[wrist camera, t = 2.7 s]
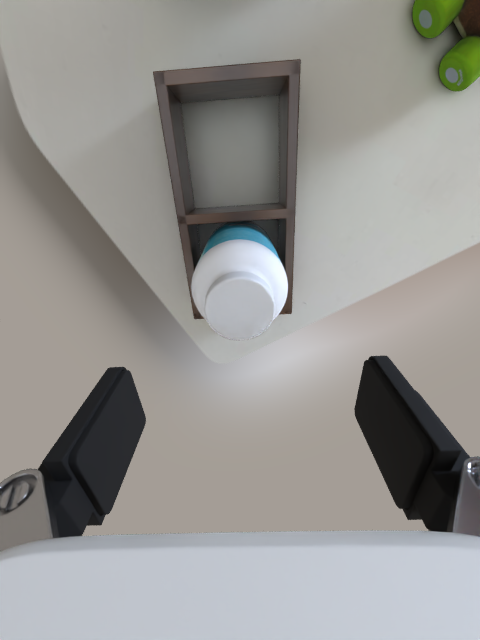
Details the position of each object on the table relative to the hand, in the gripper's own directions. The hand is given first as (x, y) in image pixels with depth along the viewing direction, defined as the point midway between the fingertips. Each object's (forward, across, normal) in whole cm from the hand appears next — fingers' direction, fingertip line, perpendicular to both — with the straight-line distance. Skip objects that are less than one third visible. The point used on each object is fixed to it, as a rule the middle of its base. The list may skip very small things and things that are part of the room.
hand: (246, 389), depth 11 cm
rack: (+21, +1, -5) cm, 21 cm away
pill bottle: (+21, +1, 0) cm, 21 cm away
